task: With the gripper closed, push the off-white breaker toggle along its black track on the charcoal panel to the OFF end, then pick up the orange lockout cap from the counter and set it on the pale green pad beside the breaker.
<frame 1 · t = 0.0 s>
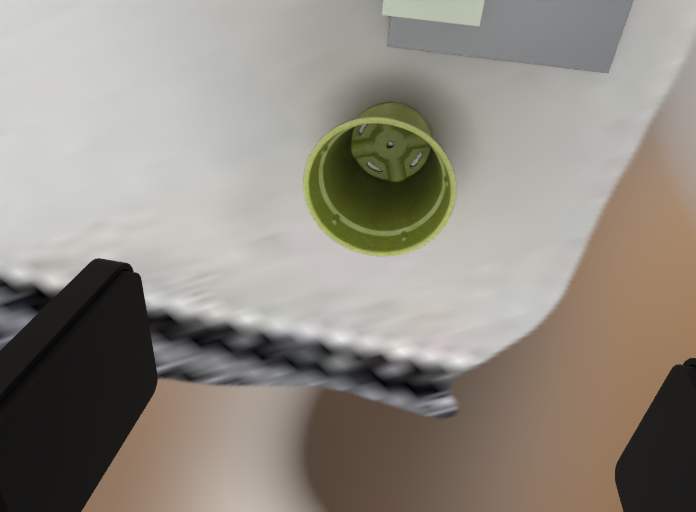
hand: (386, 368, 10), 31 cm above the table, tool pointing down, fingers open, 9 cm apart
plant pot: (391, 140, 40), on the table
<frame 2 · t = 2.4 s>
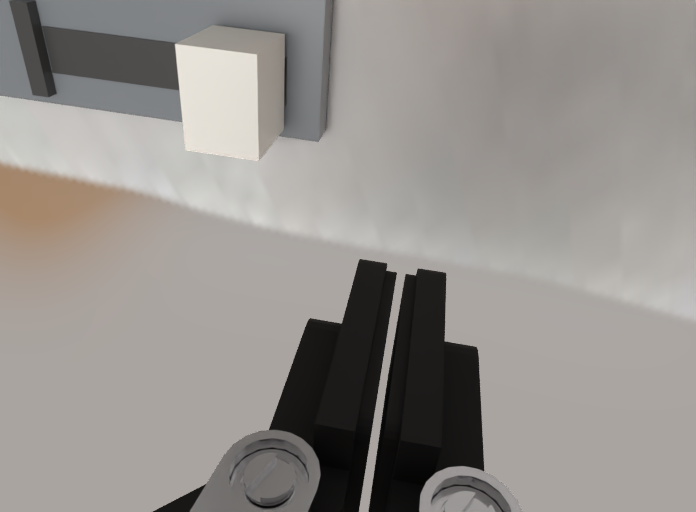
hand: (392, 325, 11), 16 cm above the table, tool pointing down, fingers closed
breaker toggle: (235, 91, 21), point 4 cm above the table, slide at 0.0 cm
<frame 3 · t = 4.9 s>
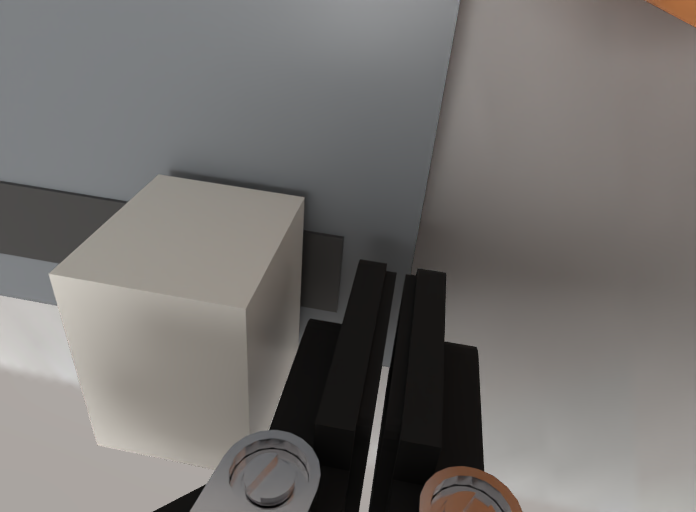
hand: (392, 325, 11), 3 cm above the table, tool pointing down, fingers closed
breaker toggle: (202, 319, 10), point 4 cm above the table, slide at 0.8 cm, touching gripper
breaker board: (19, 2, 11), on the table
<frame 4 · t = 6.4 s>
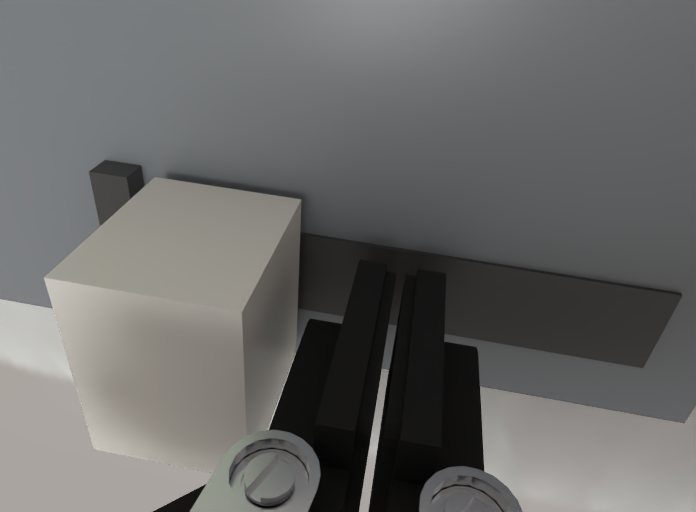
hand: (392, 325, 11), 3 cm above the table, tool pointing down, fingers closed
breaker toggle: (199, 322, 10), point 4 cm above the table, slide at 7.6 cm, touching gripper
breaker board: (333, 44, 11), on the table
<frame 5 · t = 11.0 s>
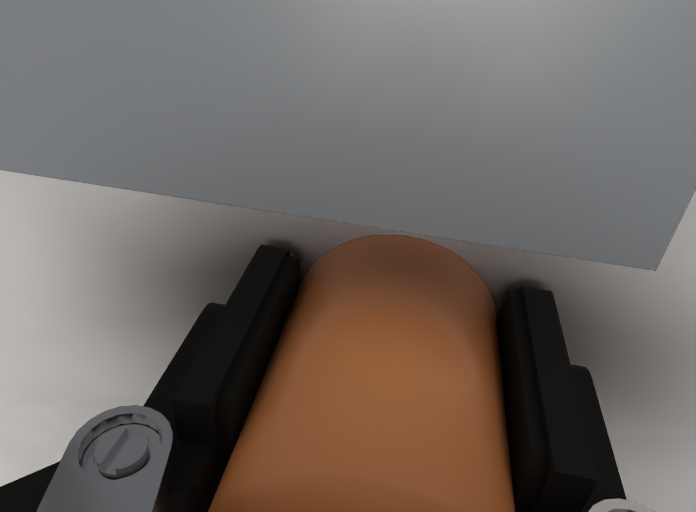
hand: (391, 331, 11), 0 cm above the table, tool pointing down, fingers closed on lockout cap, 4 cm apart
lockout cap: (393, 320, 11), on the table, touching gripper
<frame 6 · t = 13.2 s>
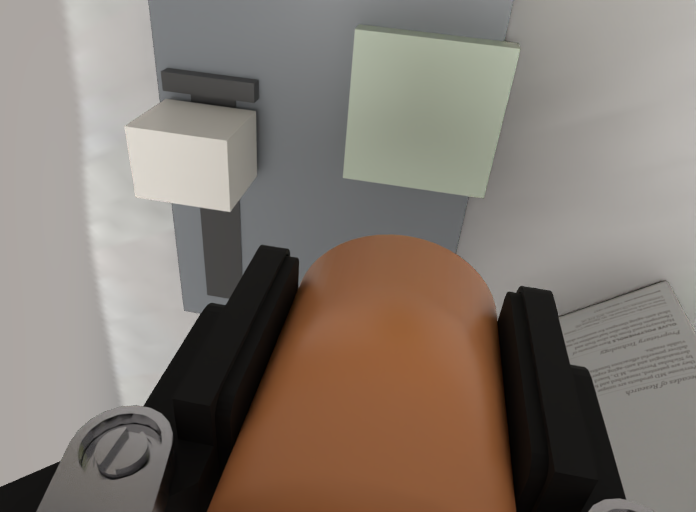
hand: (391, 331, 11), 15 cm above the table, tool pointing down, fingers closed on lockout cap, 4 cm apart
lockout cap: (393, 320, 11), point 15 cm above the table, touching gripper
breaker toggle: (196, 153, 22), point 4 cm above the table, slide at 7.7 cm
skincare box: (623, 350, 29), on the table
breaker board: (319, 170, 26), on the table
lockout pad: (426, 100, 23), resting on breaker board
when the fingers open (4 cm above the table, at t = 15.6 s): lockout cap stays where it is, resting on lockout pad.
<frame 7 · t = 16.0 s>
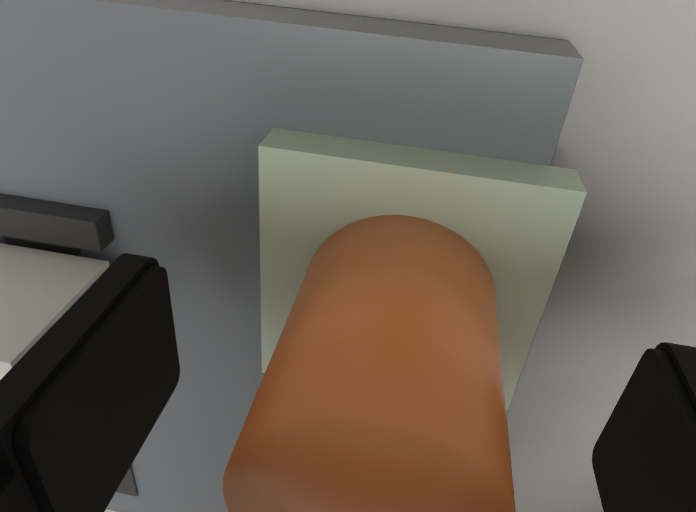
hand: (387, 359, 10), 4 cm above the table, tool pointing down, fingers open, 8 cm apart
lockout cap: (397, 297, 11), point 3 cm above the table, touching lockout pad
breaker board: (238, 327, 16), on the table
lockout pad: (405, 237, 14), resting on breaker board
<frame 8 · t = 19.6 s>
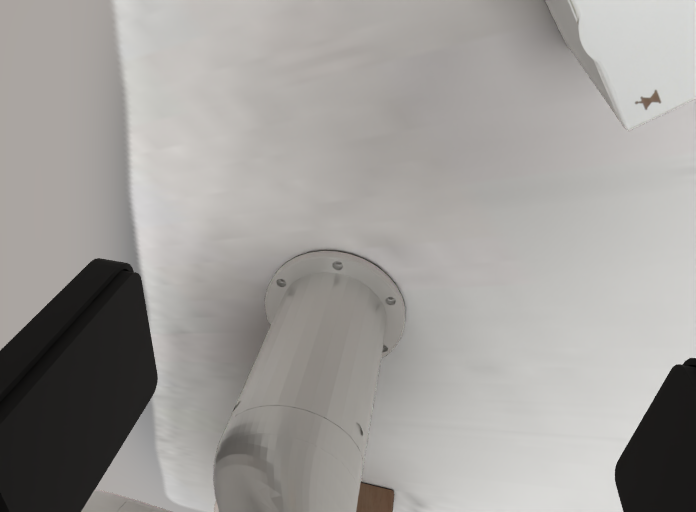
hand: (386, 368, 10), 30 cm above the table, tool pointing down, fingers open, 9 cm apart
wooden block: (354, 489, 63), on the table
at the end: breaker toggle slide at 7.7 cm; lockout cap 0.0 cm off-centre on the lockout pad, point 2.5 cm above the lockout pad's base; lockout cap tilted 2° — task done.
